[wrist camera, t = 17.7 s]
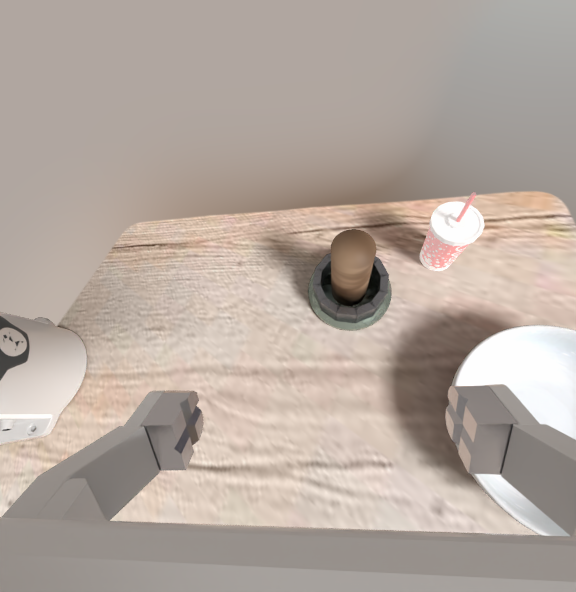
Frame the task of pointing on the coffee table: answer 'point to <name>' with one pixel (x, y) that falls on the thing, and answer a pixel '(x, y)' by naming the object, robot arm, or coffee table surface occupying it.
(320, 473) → the coffee table surface
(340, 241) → the brown rounded cylinder
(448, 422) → the robot arm
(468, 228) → the beverage cup
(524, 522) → the serving bowl
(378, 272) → the cup holder
